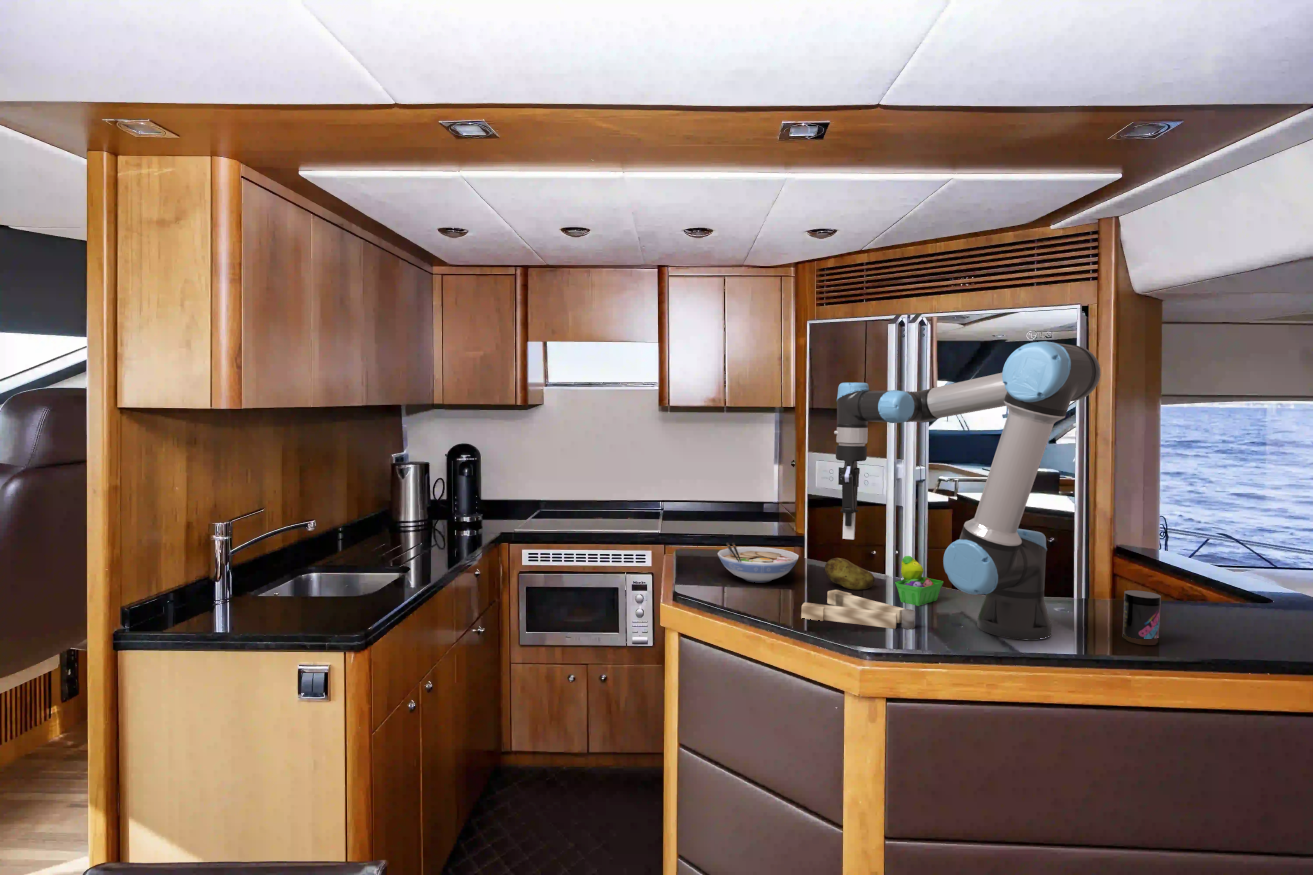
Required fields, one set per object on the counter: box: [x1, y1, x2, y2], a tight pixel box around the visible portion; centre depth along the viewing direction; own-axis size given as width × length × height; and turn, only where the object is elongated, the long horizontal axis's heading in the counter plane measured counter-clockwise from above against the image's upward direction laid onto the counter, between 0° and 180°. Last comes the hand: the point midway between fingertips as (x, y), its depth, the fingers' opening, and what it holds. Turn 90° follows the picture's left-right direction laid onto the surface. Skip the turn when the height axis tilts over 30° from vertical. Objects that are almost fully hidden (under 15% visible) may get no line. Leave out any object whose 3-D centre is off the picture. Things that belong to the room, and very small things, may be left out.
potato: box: [824, 557, 875, 590], centre depth 213 cm, size 8×13×8 cm, turn 64°
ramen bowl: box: [717, 542, 800, 584], centre depth 221 cm, size 25×23×8 cm
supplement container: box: [1122, 589, 1162, 639], centre depth 169 cm, size 7×7×10 cm
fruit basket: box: [895, 555, 944, 607], centre depth 201 cm, size 11×9×11 cm
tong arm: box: [826, 589, 905, 624], centre depth 188 cm, size 21×3×3 cm, turn 38°
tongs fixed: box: [800, 601, 916, 630], centre depth 180 cm, size 25×5×4 cm, turn 68°
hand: (848, 538), depth 196 cm, fingers closed
